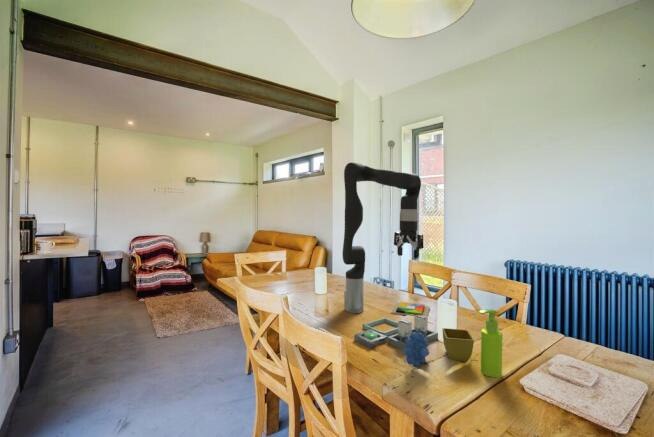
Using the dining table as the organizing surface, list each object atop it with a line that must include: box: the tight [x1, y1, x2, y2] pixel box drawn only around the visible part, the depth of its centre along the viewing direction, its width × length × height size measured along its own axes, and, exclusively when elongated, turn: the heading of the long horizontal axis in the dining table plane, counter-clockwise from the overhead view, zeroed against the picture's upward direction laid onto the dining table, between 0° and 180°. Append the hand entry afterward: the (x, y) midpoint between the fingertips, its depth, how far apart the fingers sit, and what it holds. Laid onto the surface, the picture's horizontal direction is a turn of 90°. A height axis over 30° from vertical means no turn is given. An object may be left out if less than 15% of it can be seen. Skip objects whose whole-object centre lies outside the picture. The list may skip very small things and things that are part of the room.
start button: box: [364, 332, 377, 340], centre depth 119 cm, size 5×5×3 cm
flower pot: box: [442, 327, 475, 363], centre depth 106 cm, size 9×9×9 cm
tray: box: [362, 317, 398, 337], centre depth 131 cm, size 12×14×3 cm
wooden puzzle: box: [390, 301, 431, 318], centre depth 157 cm, size 18×19×4 cm
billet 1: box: [397, 319, 413, 343], centre depth 116 cm, size 5×5×8 cm
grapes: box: [402, 332, 430, 369], centre depth 100 cm, size 12×7×12 cm, turn 125°
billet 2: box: [413, 315, 429, 337], centre depth 122 cm, size 5×5×8 cm
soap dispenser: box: [478, 308, 503, 378], centre depth 97 cm, size 6×7×20 cm
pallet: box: [387, 327, 439, 351], centre depth 119 cm, size 19×9×3 cm, turn 127°
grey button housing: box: [353, 329, 389, 349], centre depth 119 cm, size 9×9×3 cm
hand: (407, 257), depth 134 cm, fingers open, 8 cm apart
